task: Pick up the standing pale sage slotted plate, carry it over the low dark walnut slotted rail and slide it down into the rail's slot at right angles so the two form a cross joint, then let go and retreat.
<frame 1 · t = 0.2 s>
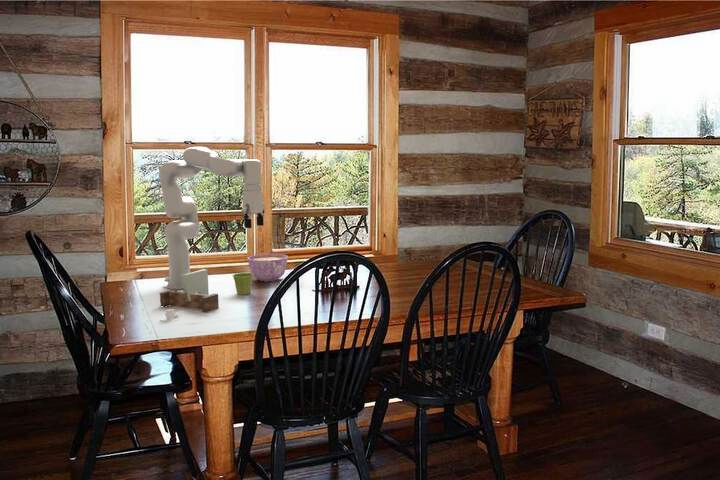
hand: (254, 226, 306), 31 cm above the table, tool pointing down, fingers open, 9 cm apart
plant pot: (243, 294, 314), on the table
bowl of food: (268, 280, 344), on the table
walnut slot rail: (189, 307, 289), on the table
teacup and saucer: (178, 320, 271), on the table
sage slot plate: (196, 298, 305), on the table
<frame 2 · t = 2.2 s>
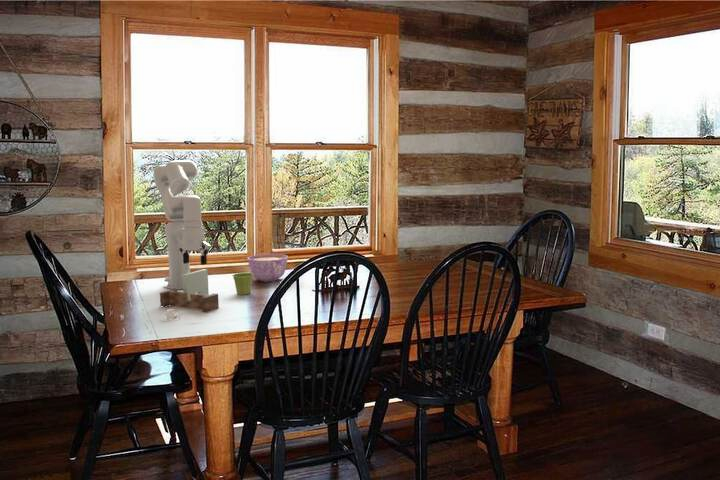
hand: (195, 263, 302), 16 cm above the table, tool pointing down, fingers open, 9 cm apart
nothing on the table moved.
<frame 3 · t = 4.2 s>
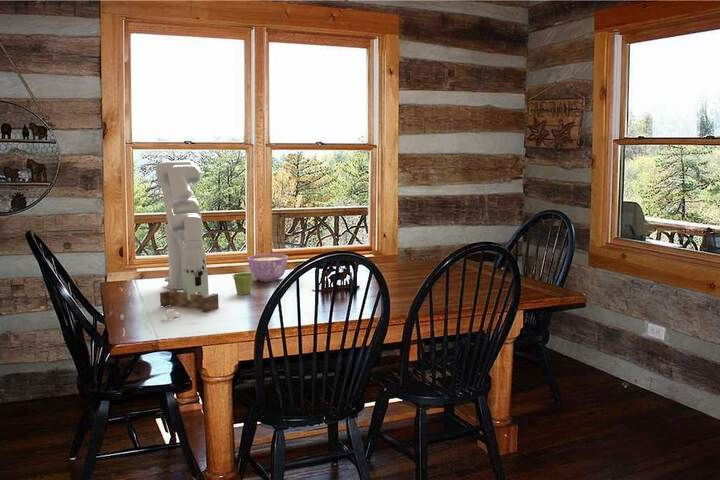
hand: (195, 285, 304), 6 cm above the table, tool pointing down, fingers closed on sage slot plate, 2 cm apart
sage slot plate: (196, 298, 305), on the table, touching gripper
everything else where it was.
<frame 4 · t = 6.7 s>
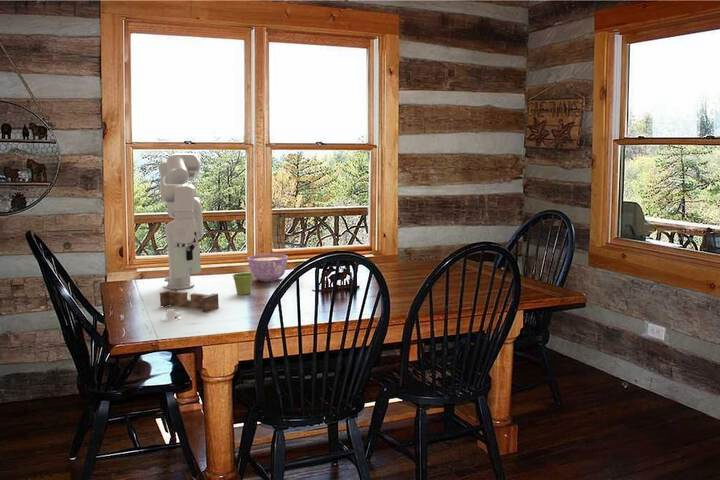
hand: (187, 259, 286), 20 cm above the table, tool pointing down, fingers closed on sage slot plate
sage slot plate: (187, 274, 287), point 14 cm above the table, touching gripper
everything else where it was.
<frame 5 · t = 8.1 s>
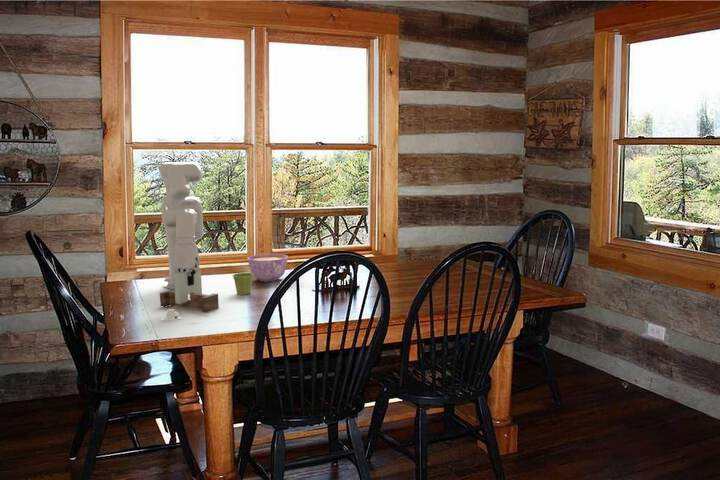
hand: (188, 284, 287), 10 cm above the table, tool pointing down, fingers closed on sage slot plate
sage slot plate: (189, 299, 288), point 3 cm above the table, touching gripper
everything else where it was.
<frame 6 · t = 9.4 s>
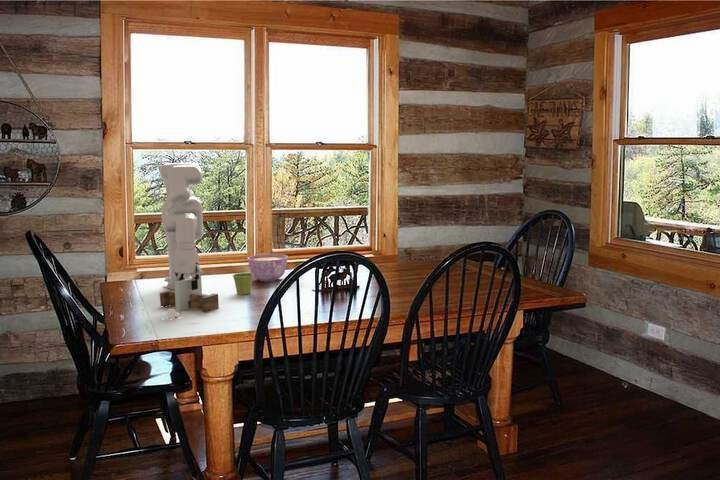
hand: (188, 288, 288), 8 cm above the table, tool pointing down, fingers open, 6 cm apart
sage slot plate: (189, 307, 289), on the table, touching walnut slot rail
everything else where it was.
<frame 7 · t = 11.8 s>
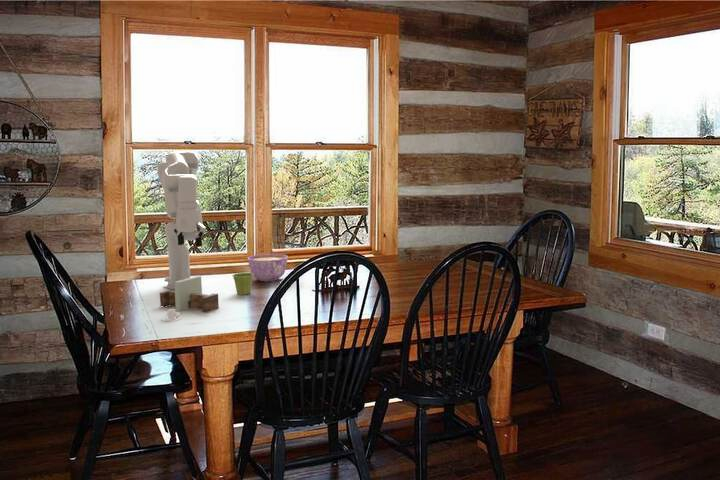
hand: (189, 245, 293), 25 cm above the table, tool pointing down, fingers open, 9 cm apart
nothing on the table moved.
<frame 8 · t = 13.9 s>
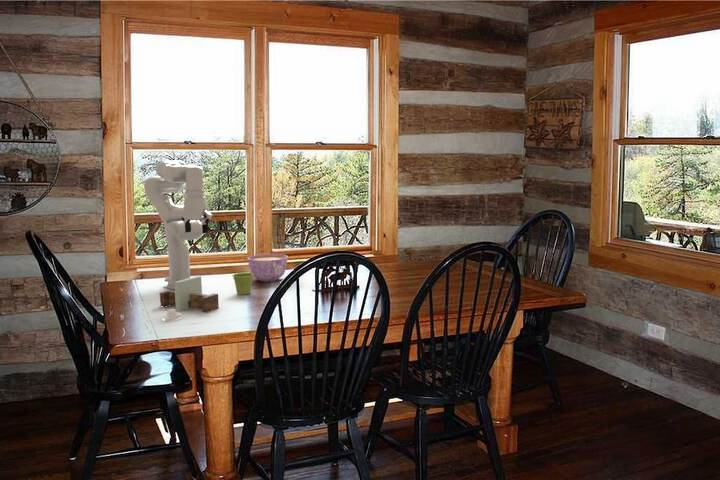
hand: (196, 232, 309), 28 cm above the table, tool pointing down, fingers open, 9 cm apart
nothing on the table moved.
at the end: sage slot plate 0.1 cm off-centre on the walnut slot rail, point 0.0 cm above the walnut slot rail's base; sage slot plate tilted 0°; the gripper is holding nothing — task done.
